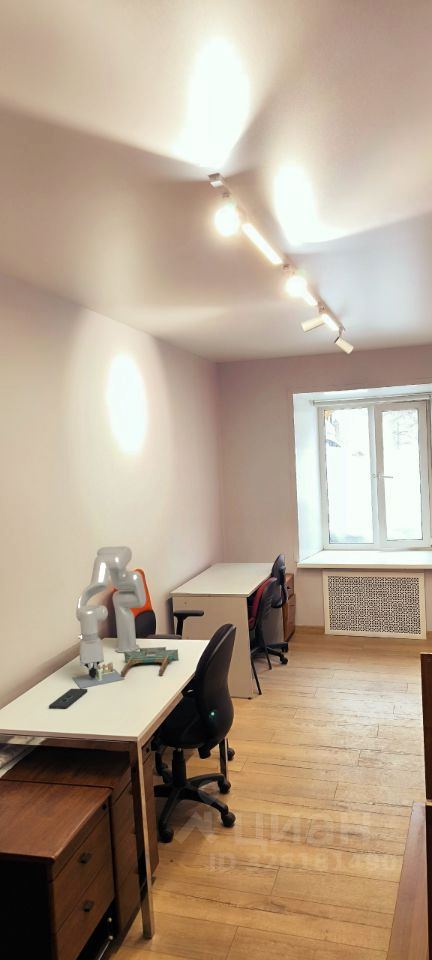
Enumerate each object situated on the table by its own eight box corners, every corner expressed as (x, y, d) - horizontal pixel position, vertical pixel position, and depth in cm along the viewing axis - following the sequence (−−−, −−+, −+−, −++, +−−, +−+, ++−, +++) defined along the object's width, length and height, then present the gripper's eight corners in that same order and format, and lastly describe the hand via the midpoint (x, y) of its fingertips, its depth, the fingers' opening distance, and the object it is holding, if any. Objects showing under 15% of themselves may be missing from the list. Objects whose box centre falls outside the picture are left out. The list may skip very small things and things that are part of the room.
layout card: (72, 678, 291) (72, 677, 291) (114, 669, 299) (114, 668, 299) (80, 688, 275) (80, 687, 275) (124, 679, 283) (124, 678, 283)
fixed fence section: (94, 675, 290) (93, 666, 290) (93, 674, 292) (92, 665, 292) (113, 671, 294) (113, 662, 294) (112, 670, 295) (112, 661, 295)
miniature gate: (111, 668, 286) (127, 646, 316) (113, 680, 286) (128, 657, 316) (170, 666, 283) (180, 644, 313) (171, 678, 284) (181, 655, 314)
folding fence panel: (95, 675, 290) (94, 667, 290) (97, 674, 290) (96, 666, 290) (99, 679, 283) (98, 671, 283) (101, 679, 283) (101, 670, 283)
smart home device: (47, 705, 254) (70, 688, 273) (48, 709, 254) (71, 692, 273) (66, 706, 252) (88, 688, 271) (66, 710, 252) (88, 692, 271)
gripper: (74, 641, 278) (77, 682, 279) (108, 635, 284) (111, 676, 284) (71, 637, 285) (74, 677, 285) (104, 632, 291) (107, 671, 291)
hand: (92, 676), depth 285 cm, fingers closed
